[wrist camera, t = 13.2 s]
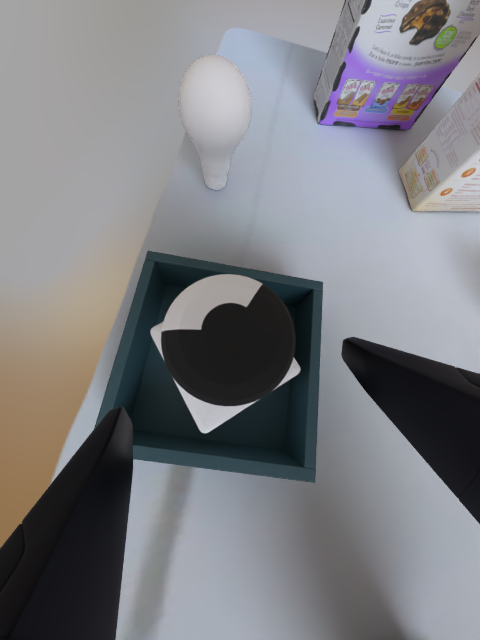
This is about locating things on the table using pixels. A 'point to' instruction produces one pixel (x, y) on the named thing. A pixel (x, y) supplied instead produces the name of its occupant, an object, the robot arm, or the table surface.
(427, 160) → the coffeecake box
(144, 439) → the bin
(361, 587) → the table surface
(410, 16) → the candy box
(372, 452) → the table surface
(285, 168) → the table surface
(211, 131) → the lightbulb
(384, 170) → the table surface
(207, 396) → the medicine bottle
